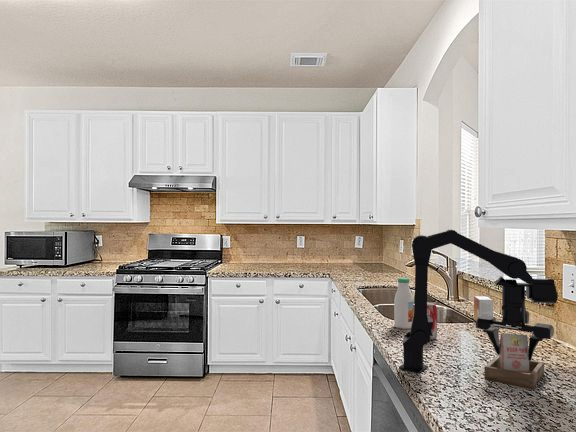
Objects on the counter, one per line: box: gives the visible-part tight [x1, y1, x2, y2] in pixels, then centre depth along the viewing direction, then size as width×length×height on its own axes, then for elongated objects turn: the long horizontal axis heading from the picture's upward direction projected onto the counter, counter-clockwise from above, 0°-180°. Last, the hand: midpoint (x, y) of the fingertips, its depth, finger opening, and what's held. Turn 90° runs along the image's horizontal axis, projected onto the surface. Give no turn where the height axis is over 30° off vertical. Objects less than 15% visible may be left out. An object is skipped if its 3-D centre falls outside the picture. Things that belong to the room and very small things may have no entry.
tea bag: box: [499, 333, 529, 373], centre depth 122 cm, size 4×7×10 cm, turn 74°
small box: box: [473, 295, 494, 322], centre depth 185 cm, size 8×6×10 cm
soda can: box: [427, 301, 438, 341], centre depth 162 cm, size 7×7×13 cm
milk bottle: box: [393, 277, 415, 330], centre depth 179 cm, size 8×8×20 cm
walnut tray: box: [483, 354, 545, 391], centre depth 122 cm, size 14×12×4 cm
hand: (513, 357), depth 122 cm, fingers closed on tea bag, 8 cm apart
